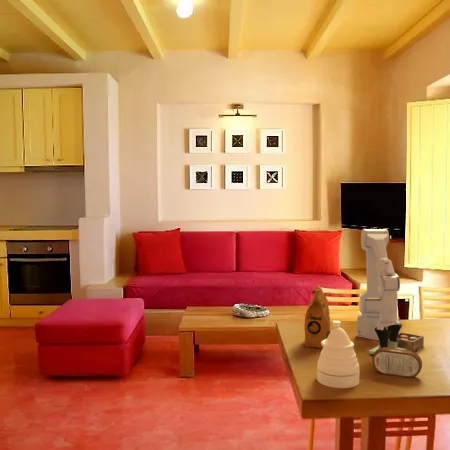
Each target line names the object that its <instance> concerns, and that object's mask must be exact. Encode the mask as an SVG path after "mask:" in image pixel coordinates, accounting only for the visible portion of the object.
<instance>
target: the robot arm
mask: <svg viewBox="0 0 450 450" xmlns="http://www.w3.org/2000/svg"><path fill="white" fill-rule="evenodd" d="M389 233H390V232H389V230H388V229H387V228H383V229H381V228H379V229H377V228H370V229H369V228H368V229H367V228H363V229H362V230H361V234H360V244H361V245H360V246H361V249H362V250H363V251H365V257H366V258H365V260H366V261H365V263H366V267H365V268H366V291H364V292H363V293H361V294H360V296H359V303H358V305H359V307H358V308H359V312H360V313H359V314H358V315H357V318H356V335H355V336H356V337H358V338H365V339H369V340H373V341H378V344H379V343H380V347H381V348H382V347H387V346H388V341H393V342H396V341H397V337H398V333H399V332H401V331H400V330H401V329H402V327H403V324H402V323H401V321H400V317H399V316H398V292H399V291H400V289H401V281H400V276H399V275H398V274H397V273H396V272H395V268H394V266H393V261H392V259H389V258H388V252H387V246H388V244H389V241H390V234H389Z"/></svg>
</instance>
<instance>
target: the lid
mask: <svg viewBox="0 0 450 450" xmlns="http://www.w3.org/2000/svg"><path fill="white" fill-rule="evenodd" d="M379 348H381V347H380V343H379V342H378V345H377V346H375V347H373V348H372V349H370V350H368V354H370V355H374V353H375V351H376V350H377V349H379ZM387 348H394V349H402V350H407V349H404V348H399V347H397V342H393V341H389V340H388V346H387Z"/></svg>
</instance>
